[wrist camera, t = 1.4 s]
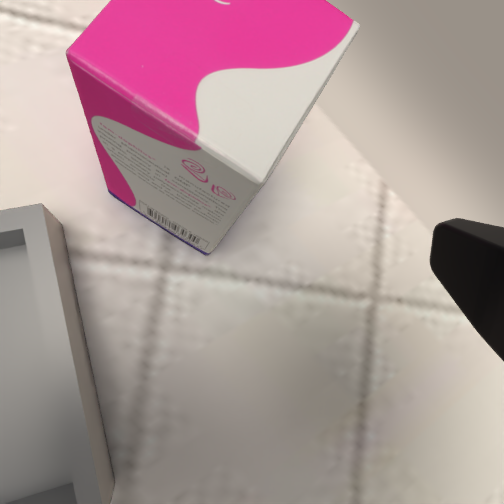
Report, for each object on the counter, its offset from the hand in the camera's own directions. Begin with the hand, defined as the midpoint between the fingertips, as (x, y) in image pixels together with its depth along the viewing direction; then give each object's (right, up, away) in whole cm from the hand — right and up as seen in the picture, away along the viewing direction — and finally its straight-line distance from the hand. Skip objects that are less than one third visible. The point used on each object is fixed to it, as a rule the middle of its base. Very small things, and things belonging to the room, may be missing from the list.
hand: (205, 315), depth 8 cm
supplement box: (-2, +5, +15) cm, 16 cm away
